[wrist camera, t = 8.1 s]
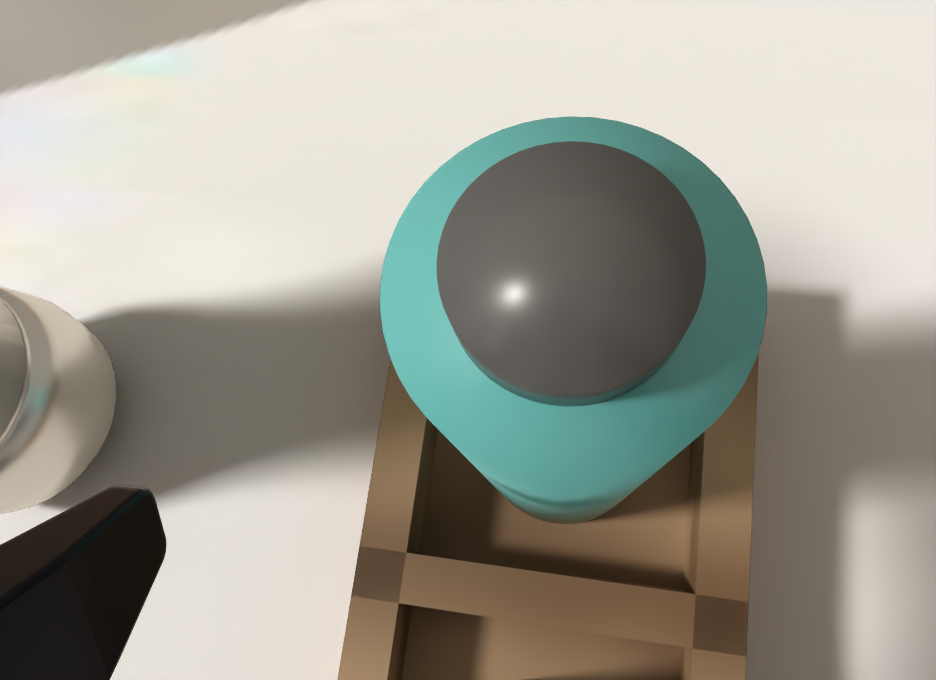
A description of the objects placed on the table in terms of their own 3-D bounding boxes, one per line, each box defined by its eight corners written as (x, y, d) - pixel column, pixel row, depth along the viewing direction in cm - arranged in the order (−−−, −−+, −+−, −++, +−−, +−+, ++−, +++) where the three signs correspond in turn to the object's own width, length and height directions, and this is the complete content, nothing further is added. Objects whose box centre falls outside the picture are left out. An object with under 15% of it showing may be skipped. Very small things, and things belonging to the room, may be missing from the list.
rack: (702, 1003, 18) (729, 1088, 15) (326, 921, 20) (286, 986, 17) (735, 308, 23) (761, 272, 20) (427, 279, 24) (409, 243, 21)
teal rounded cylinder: (561, 559, 20) (564, 571, 7) (452, 439, 22) (283, 260, 8) (677, 446, 21) (883, 260, 8) (564, 335, 22) (571, 8, 9)
